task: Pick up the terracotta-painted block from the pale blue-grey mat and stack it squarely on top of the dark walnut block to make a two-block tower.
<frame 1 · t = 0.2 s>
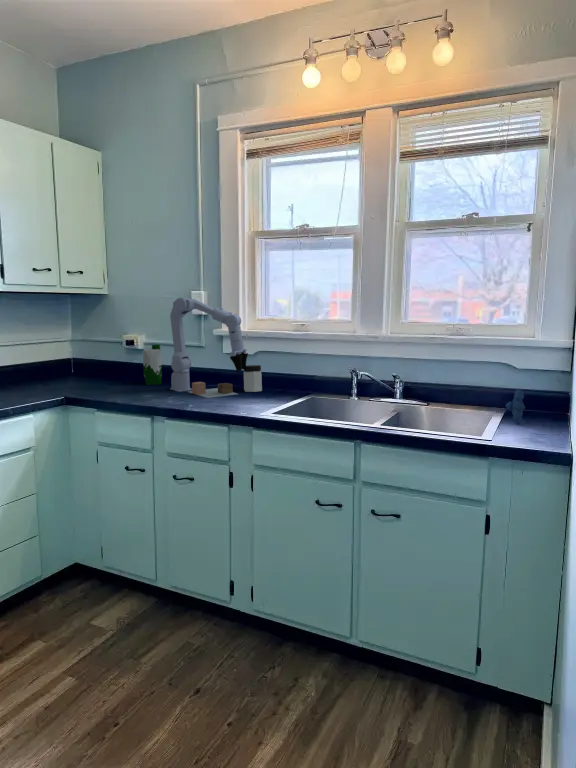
hand: (241, 370, 249), 11 cm above the worktop, tool pointing down, fingers open, 5 cm apart
grapes: (514, 423, 192), on the worktop
terracotta block: (199, 393, 248), resting on mat
mat: (212, 393, 250), on the worktop
milk carton: (153, 384, 278), on the worktop
walnut block: (225, 392, 250), resting on mat
jar: (253, 391, 255), on the worktop, touching gripper
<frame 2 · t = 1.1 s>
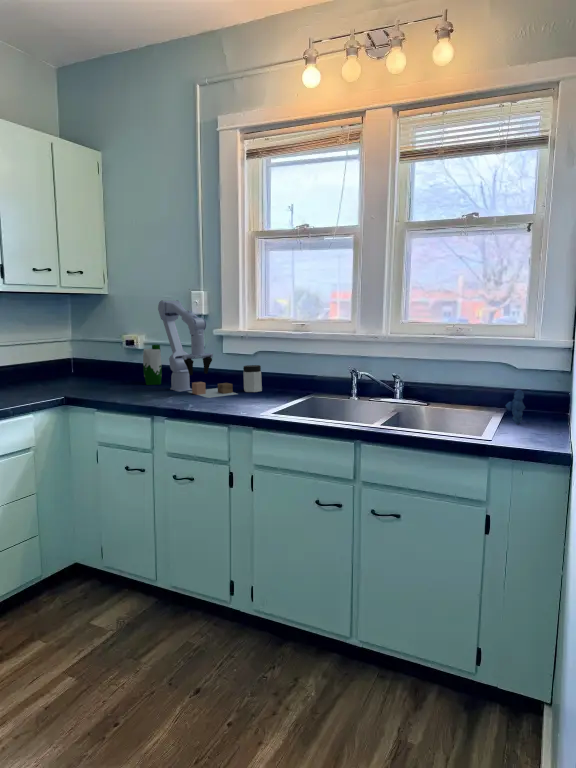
hand: (198, 374, 246), 9 cm above the worktop, tool pointing down, fingers open, 7 cm apart
jar: (252, 391, 255), on the worktop
everything else where it was.
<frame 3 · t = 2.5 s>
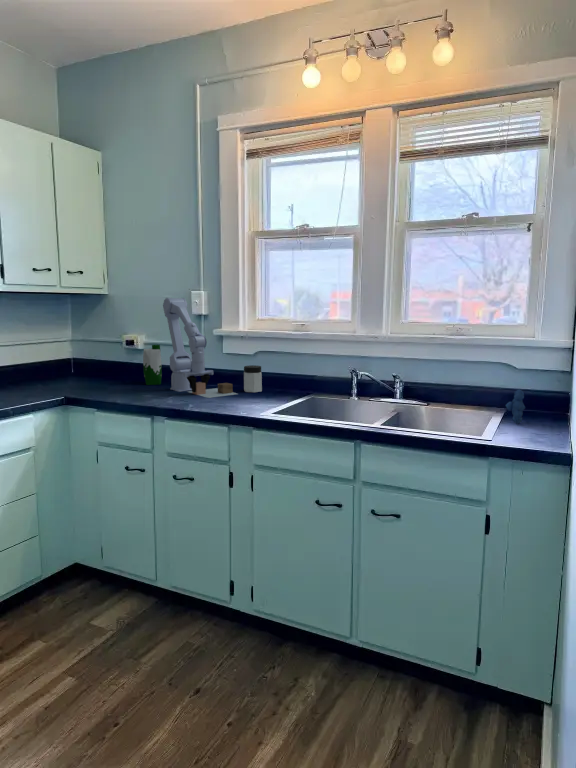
hand: (198, 391, 248), 1 cm above the worktop, tool pointing down, fingers closed on terracotta block, 4 cm apart
terracotta block: (199, 393, 248), resting on mat, touching gripper
everything else where it was.
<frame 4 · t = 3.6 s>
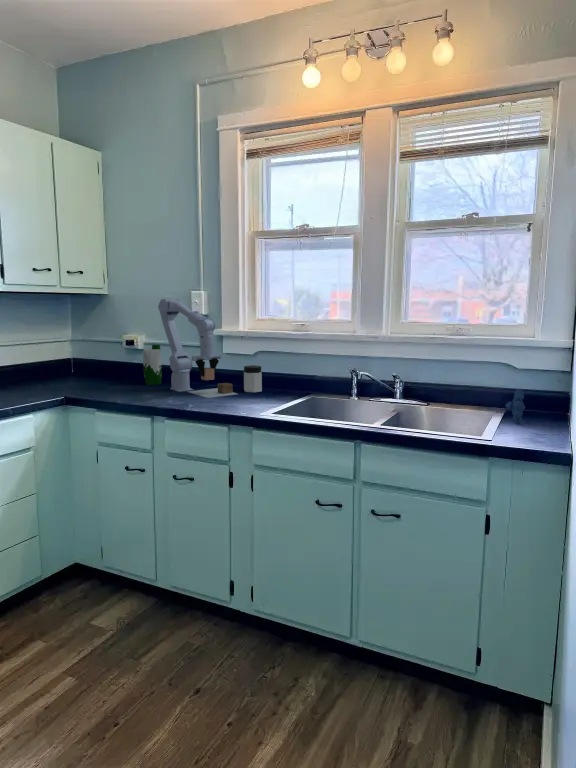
hand: (207, 375, 247), 9 cm above the worktop, tool pointing down, fingers closed on terracotta block, 4 cm apart
terracotta block: (207, 379, 247), point 7 cm above the worktop, touching gripper
everything else where it was.
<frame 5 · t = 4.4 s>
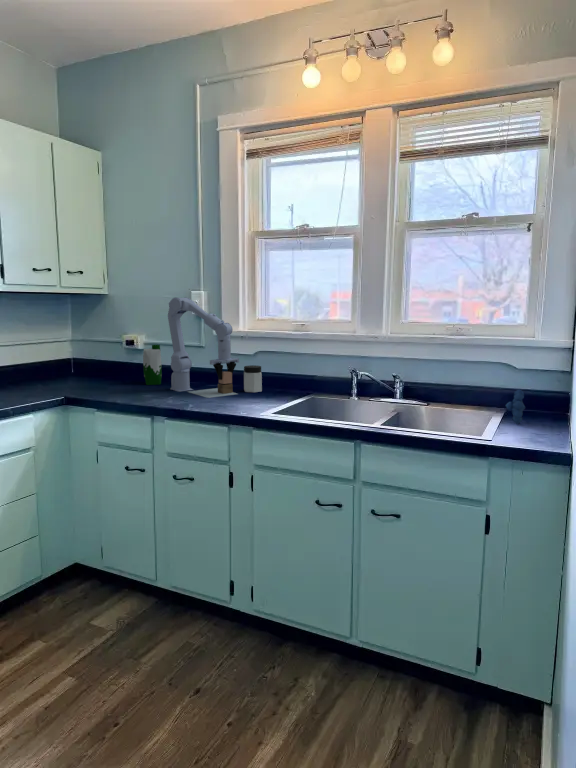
hand: (225, 378, 249), 7 cm above the worktop, tool pointing down, fingers closed on terracotta block, 4 cm apart
terracotta block: (225, 382, 250), point 5 cm above the worktop, touching gripper
everything else where it was.
when the fingers open (7 cm above the worktop, at t = 4.9 s): terracotta block stays where it is, resting on walnut block.
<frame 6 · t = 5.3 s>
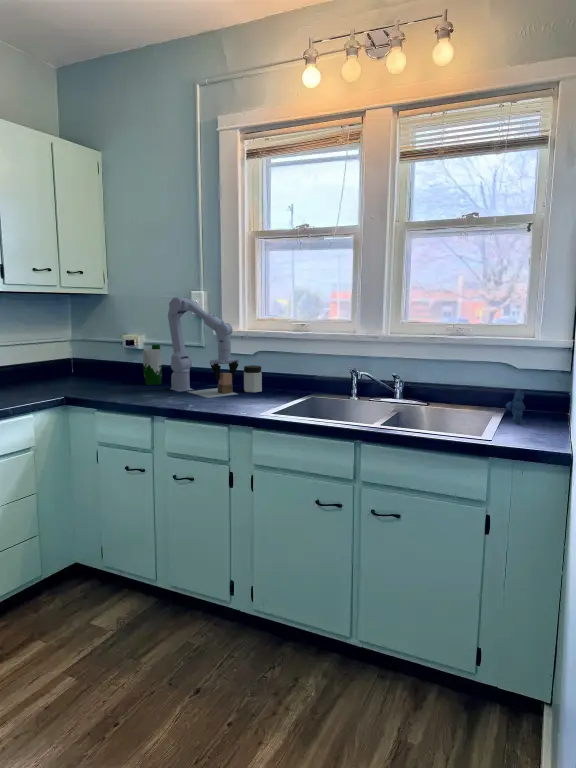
hand: (225, 379, 249), 7 cm above the worktop, tool pointing down, fingers open, 7 cm apart
terracotta block: (225, 384, 250), point 4 cm above the worktop, touching walnut block
walnut block: (225, 392, 250), resting on mat, touching terracotta block
everything else where it was.
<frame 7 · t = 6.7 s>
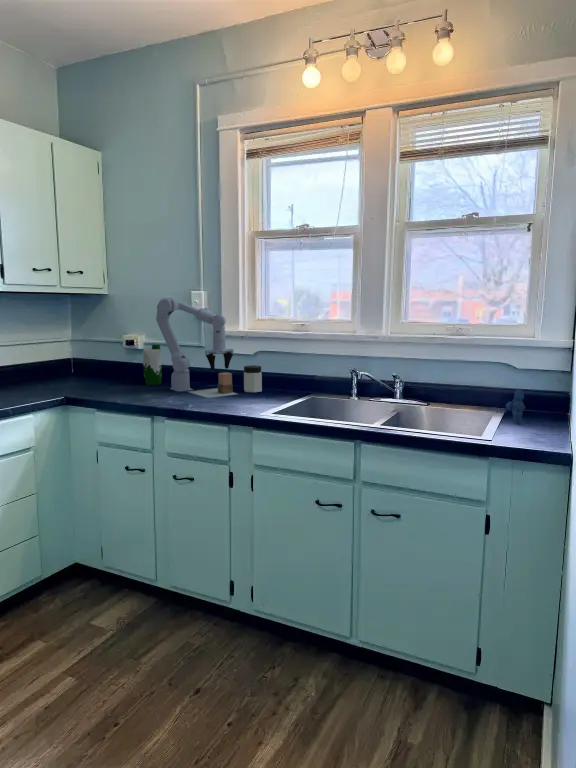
hand: (219, 369, 256), 10 cm above the worktop, tool pointing down, fingers open, 7 cm apart
nothing on the worktop moved.
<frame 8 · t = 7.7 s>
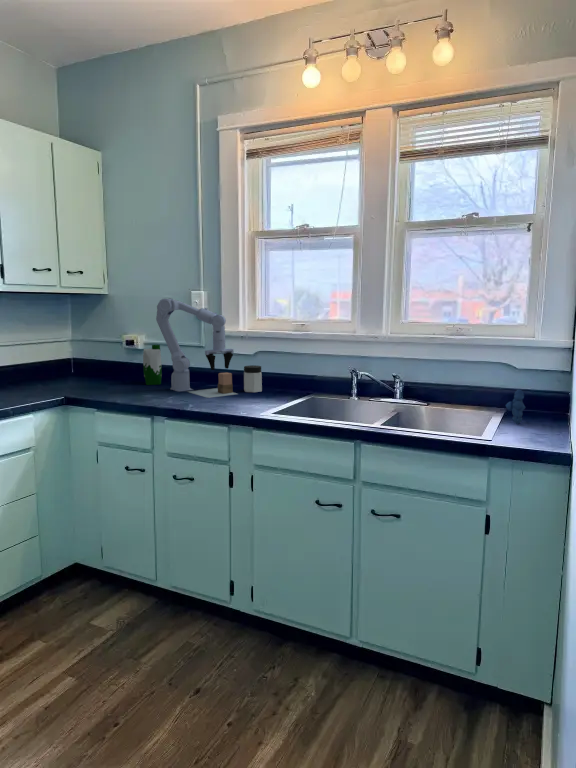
hand: (219, 369, 256), 10 cm above the worktop, tool pointing down, fingers open, 7 cm apart
nothing on the worktop moved.
at the end: terracotta block 0.2 cm off-centre on the walnut block, point 4.0 cm above the walnut block's base; terracotta block tilted 0°; walnut block moved 0.0 cm from its start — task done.
